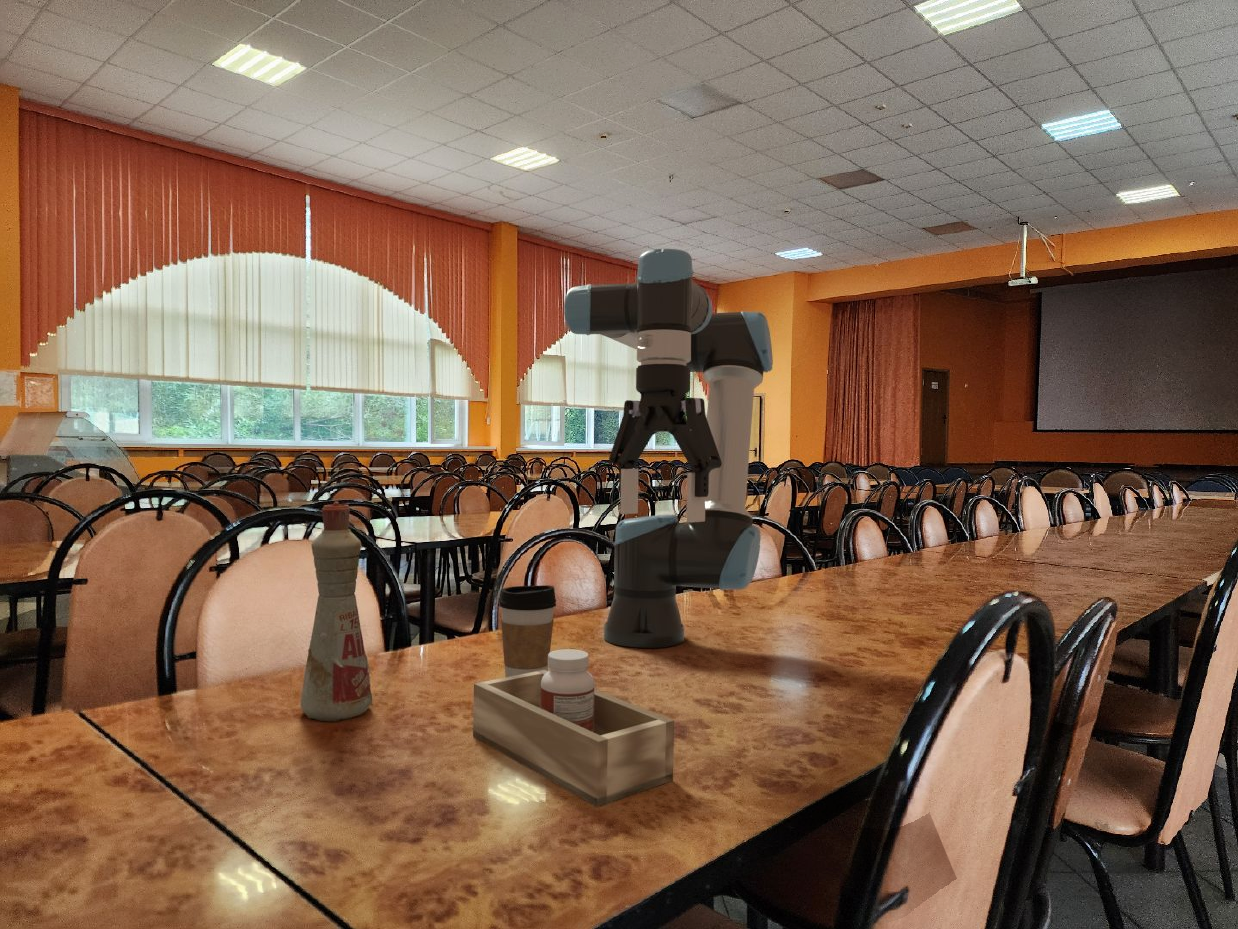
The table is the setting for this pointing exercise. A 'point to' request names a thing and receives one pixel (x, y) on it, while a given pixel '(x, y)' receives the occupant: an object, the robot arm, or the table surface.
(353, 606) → the bottle
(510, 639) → the coffee cup
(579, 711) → the pill bottle
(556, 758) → the wooden box
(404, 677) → the table surface
